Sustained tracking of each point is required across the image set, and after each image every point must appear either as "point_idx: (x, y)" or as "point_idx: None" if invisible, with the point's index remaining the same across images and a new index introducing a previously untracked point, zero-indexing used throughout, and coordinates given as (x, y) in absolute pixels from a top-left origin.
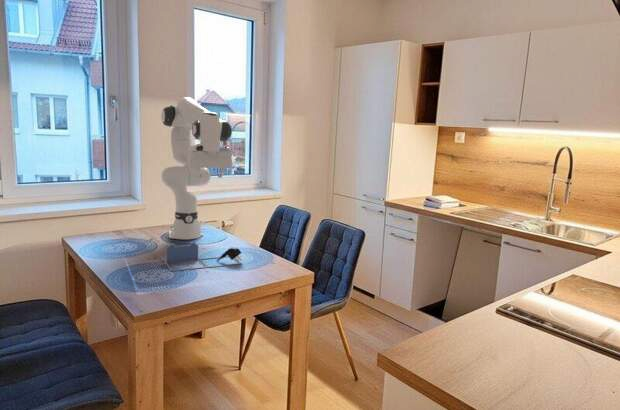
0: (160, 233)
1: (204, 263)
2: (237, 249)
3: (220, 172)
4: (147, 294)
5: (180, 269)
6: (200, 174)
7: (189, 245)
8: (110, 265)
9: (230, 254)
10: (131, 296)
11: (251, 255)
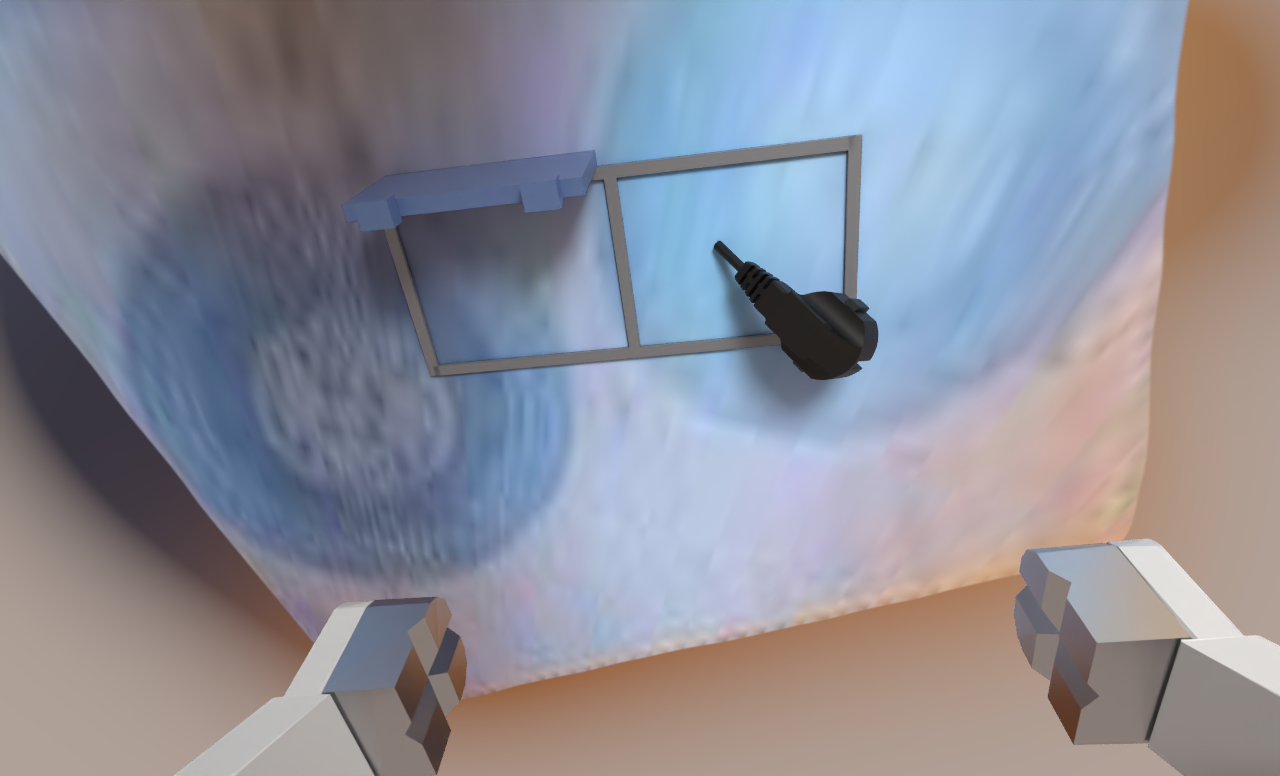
0: None
1: (627, 283)
2: (847, 371)
3: (1235, 700)
4: (372, 600)
5: (482, 364)
6: (383, 758)
7: (515, 196)
8: (47, 177)
9: (791, 356)
10: (319, 603)
11: (1016, 139)
